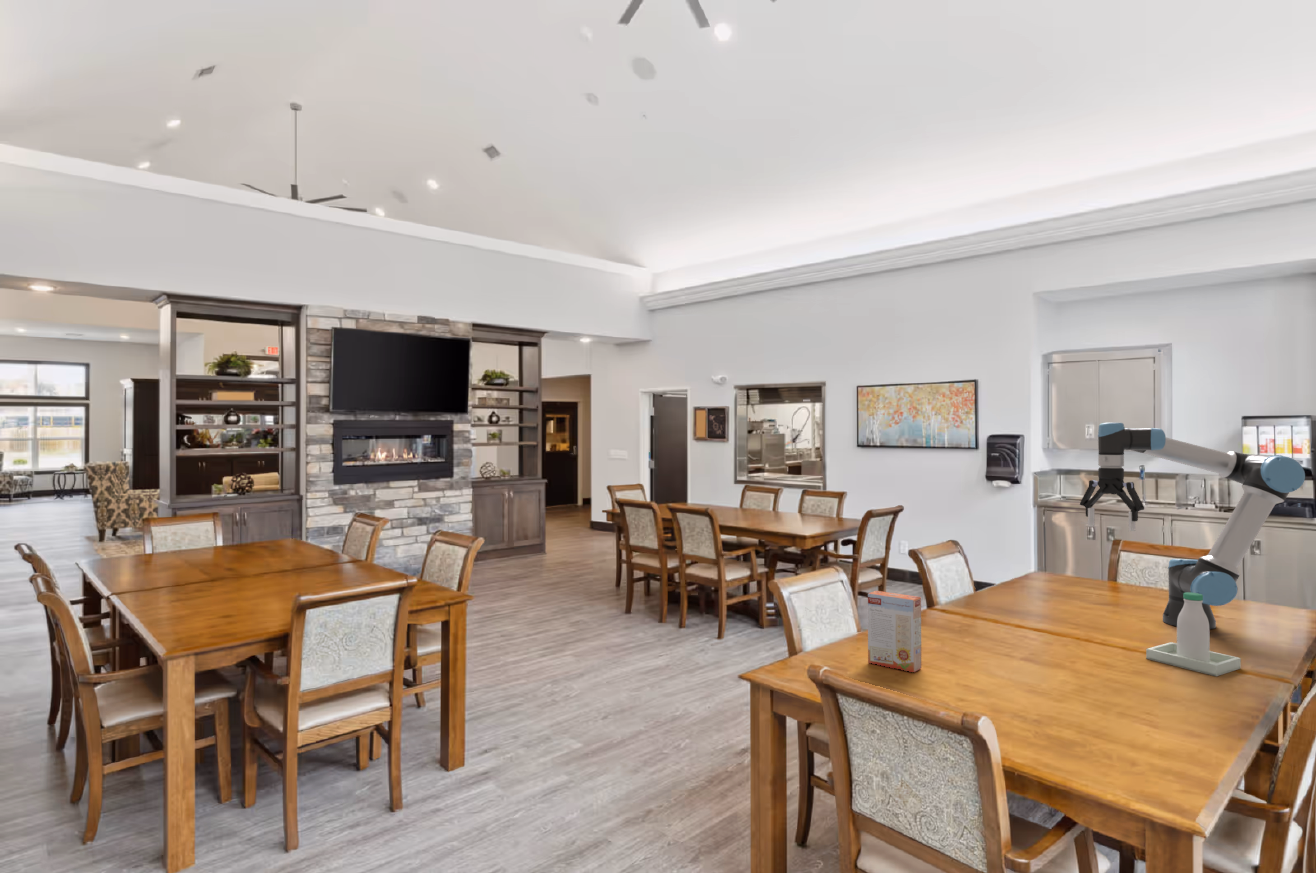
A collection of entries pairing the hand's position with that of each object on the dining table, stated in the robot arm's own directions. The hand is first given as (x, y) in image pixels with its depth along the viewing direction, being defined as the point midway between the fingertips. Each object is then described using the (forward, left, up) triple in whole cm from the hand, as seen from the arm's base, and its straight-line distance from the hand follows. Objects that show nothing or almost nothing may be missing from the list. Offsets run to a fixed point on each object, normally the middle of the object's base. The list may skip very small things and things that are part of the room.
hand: (1111, 528), depth 248 cm
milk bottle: (+18, +33, -34) cm, 51 cm away
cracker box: (+96, -8, -35) cm, 102 cm away
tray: (+18, +33, -35) cm, 51 cm away
